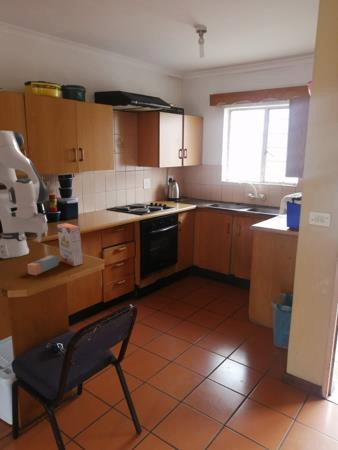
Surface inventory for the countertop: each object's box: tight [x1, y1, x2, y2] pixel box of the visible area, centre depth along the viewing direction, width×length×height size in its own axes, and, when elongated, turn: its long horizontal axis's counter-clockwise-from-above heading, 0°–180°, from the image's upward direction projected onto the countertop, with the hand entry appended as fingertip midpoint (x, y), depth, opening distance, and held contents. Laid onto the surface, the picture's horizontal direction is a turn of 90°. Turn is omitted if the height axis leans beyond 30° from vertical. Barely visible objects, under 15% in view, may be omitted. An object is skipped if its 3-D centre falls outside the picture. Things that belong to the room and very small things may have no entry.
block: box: [27, 261, 43, 276], centre depth 174 cm, size 5×4×5 cm
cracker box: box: [56, 222, 84, 267], centre depth 186 cm, size 14×6×21 cm, turn 45°
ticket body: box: [34, 254, 60, 273], centre depth 181 cm, size 5×12×5 cm, turn 156°
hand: (31, 240), depth 171 cm, fingers open, 8 cm apart
